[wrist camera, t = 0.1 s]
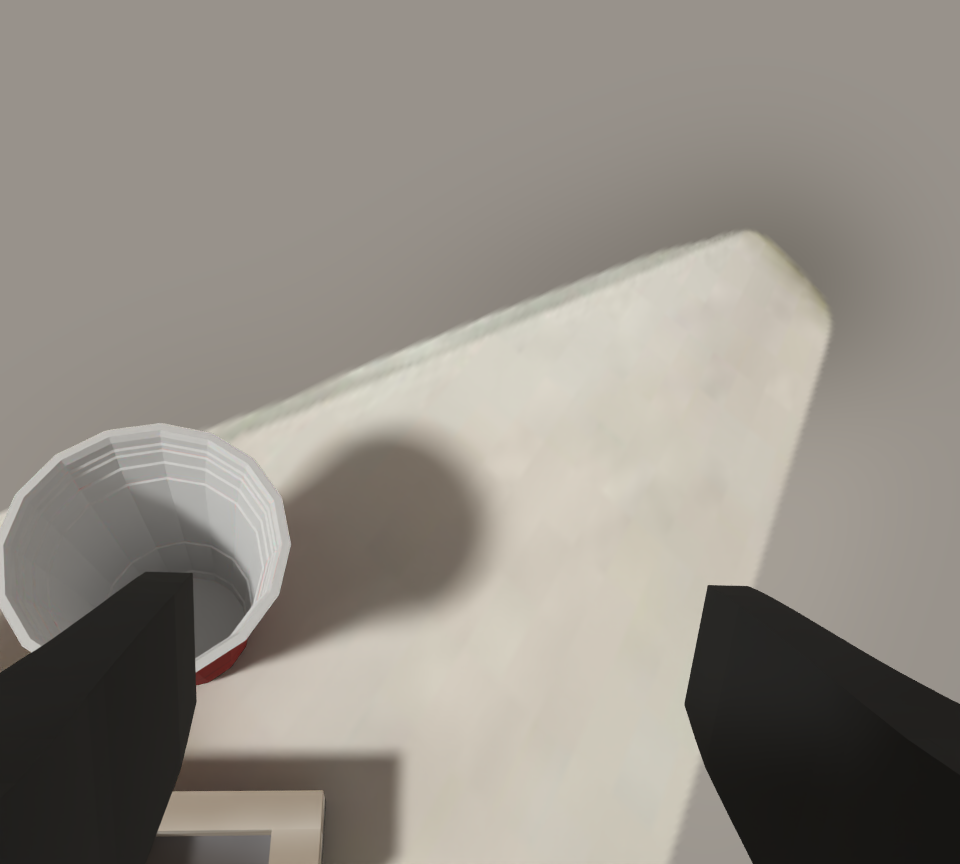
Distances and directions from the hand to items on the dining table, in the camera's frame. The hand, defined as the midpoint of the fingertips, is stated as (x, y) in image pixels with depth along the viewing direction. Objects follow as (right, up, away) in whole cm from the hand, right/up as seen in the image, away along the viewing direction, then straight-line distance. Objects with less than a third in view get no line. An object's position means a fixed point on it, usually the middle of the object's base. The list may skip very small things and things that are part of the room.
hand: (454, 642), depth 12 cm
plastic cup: (-14, -7, +31) cm, 35 cm away
